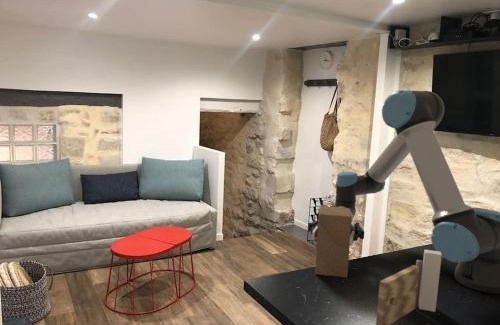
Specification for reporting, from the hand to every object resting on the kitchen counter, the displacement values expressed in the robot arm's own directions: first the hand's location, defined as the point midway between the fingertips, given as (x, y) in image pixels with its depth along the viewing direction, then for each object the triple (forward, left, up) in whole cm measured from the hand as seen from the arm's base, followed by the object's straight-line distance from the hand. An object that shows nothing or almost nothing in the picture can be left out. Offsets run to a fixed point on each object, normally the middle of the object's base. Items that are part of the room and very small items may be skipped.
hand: (331, 238), depth 125 cm
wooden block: (0, -4, -12) cm, 13 cm away
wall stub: (-28, +10, -12) cm, 32 cm away
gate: (-21, +19, -12) cm, 30 cm away
